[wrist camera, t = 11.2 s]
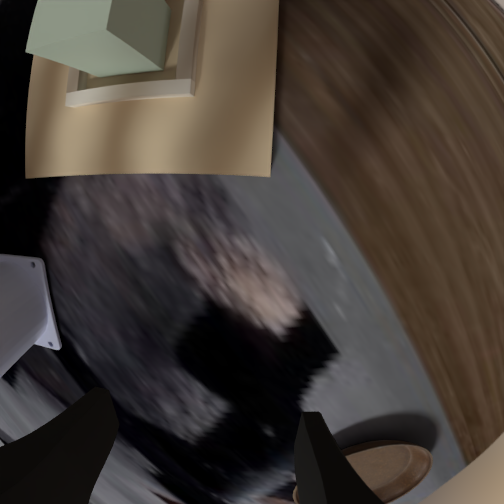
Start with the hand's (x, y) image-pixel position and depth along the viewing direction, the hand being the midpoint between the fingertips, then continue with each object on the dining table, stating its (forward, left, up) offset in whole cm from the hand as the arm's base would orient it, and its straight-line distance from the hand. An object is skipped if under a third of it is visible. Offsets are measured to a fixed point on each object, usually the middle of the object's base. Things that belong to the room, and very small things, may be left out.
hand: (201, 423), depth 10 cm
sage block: (-6, +16, -9) cm, 19 cm away
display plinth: (-6, +16, -10) cm, 20 cm away
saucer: (+14, -20, -11) cm, 27 cm away
